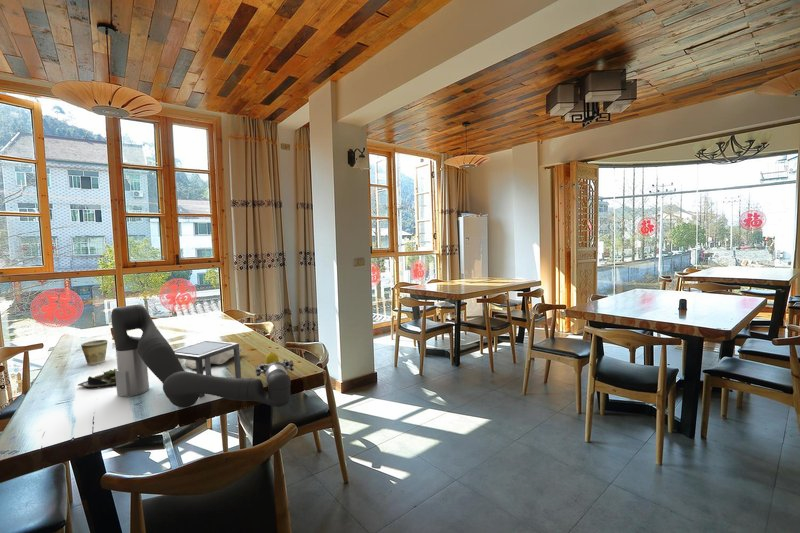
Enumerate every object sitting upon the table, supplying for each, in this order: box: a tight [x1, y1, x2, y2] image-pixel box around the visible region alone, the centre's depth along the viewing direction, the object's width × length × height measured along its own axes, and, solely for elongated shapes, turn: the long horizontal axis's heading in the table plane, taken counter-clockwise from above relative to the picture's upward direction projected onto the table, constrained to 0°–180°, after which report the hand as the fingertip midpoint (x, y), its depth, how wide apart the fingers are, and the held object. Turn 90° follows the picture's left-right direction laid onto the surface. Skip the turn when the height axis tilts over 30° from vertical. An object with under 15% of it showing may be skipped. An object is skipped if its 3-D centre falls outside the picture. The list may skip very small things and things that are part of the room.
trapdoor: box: [174, 342, 230, 355], centre depth 149 cm, size 14×14×1 cm
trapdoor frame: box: [173, 339, 242, 398], centre depth 150 cm, size 19×19×15 cm
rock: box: [184, 346, 243, 370], centre depth 179 cm, size 19×7×25 cm
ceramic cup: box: [80, 339, 108, 366], centre depth 187 cm, size 13×10×10 cm
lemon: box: [264, 351, 280, 365], centre depth 164 cm, size 6×6×8 cm
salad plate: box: [77, 368, 118, 390], centre depth 161 cm, size 19×18×5 cm
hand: (273, 362), depth 157 cm, fingers open, 8 cm apart
